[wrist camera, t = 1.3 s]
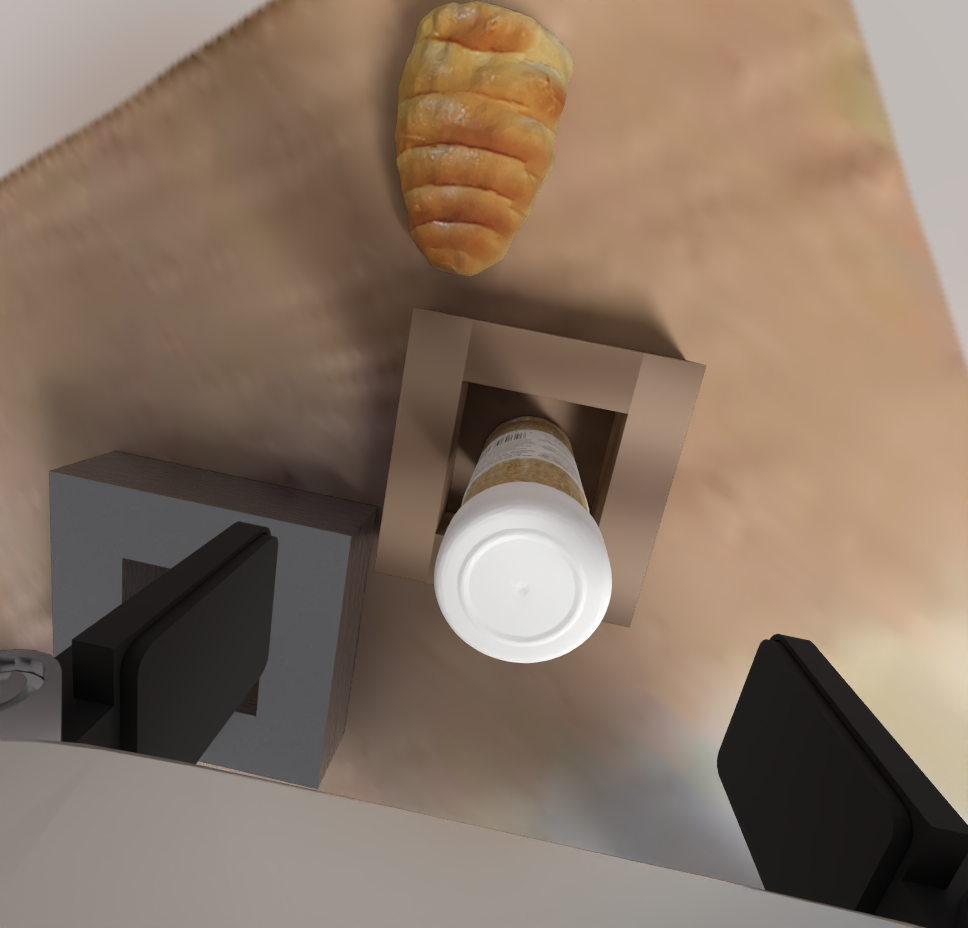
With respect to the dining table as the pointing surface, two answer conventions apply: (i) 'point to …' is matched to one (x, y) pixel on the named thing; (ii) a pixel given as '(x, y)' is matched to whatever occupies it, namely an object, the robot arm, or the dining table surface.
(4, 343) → the dining table surface
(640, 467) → the holder ring
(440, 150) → the pastry
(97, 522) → the block
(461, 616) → the sprinkles bottle
